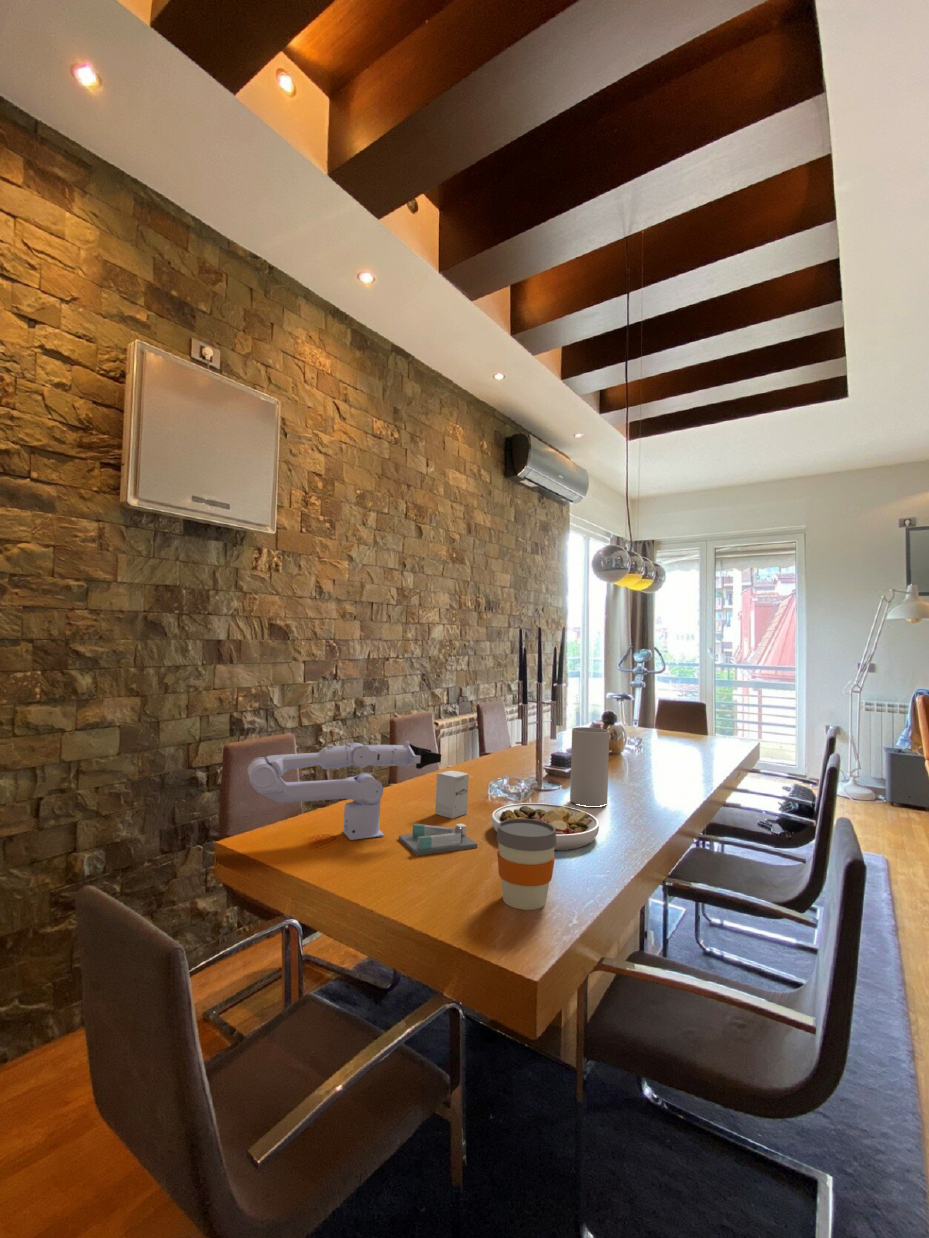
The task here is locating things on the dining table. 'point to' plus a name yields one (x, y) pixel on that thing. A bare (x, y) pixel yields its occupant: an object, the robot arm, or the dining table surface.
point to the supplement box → (451, 794)
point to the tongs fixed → (440, 840)
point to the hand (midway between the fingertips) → (435, 755)
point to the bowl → (554, 822)
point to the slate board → (412, 845)
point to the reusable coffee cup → (525, 861)
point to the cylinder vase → (589, 766)
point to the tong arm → (429, 830)
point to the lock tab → (463, 827)
